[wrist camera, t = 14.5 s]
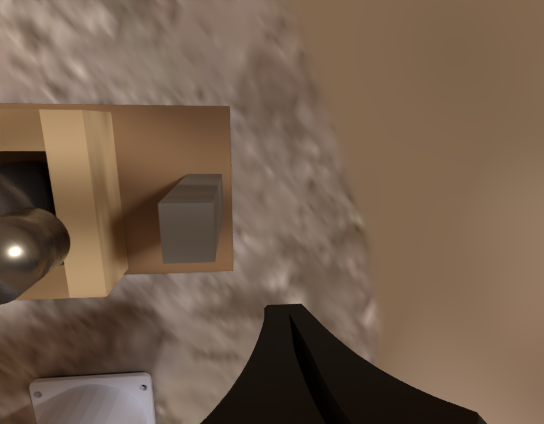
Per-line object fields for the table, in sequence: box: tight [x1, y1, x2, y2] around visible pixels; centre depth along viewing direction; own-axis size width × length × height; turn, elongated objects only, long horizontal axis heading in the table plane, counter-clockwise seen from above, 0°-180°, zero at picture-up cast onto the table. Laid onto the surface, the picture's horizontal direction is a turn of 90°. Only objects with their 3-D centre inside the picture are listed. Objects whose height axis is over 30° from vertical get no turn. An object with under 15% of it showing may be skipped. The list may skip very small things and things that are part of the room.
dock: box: [0, 103, 233, 300], centre depth 16 cm, size 10×17×8 cm, turn 90°
